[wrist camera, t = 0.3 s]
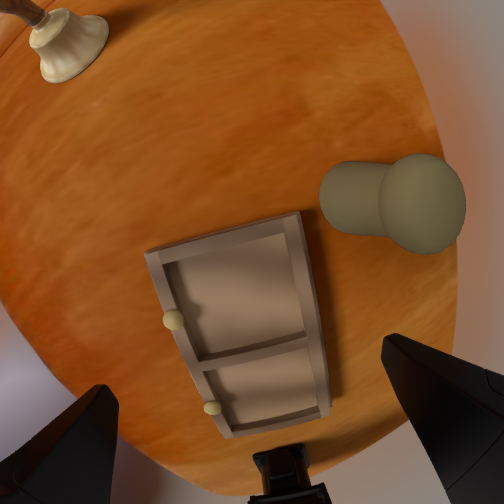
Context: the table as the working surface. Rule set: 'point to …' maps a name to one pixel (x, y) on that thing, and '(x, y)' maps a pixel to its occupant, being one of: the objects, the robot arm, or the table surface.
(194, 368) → the divided tray
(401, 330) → the table surface
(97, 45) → the hand bell
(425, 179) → the olive pepper mill
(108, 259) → the table surface
